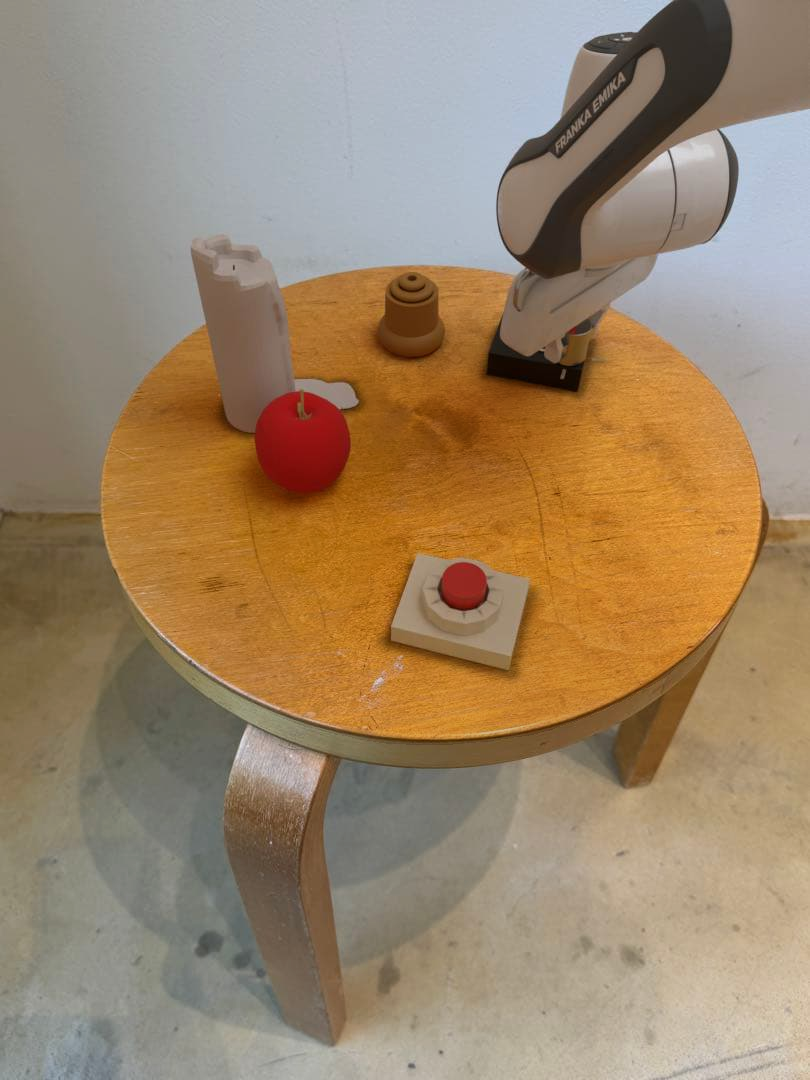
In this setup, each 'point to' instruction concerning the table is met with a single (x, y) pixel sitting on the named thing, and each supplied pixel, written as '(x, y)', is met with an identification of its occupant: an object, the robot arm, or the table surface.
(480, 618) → the switch box
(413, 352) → the ornamental finial
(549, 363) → the dial panel
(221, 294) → the candle
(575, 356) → the dial knob
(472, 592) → the power button
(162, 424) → the table surface
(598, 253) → the robot arm
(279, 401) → the fruit
